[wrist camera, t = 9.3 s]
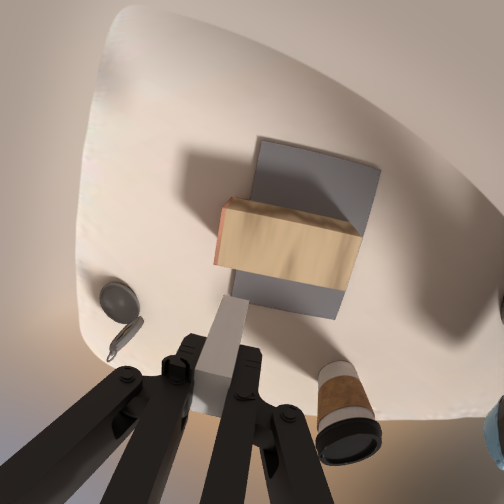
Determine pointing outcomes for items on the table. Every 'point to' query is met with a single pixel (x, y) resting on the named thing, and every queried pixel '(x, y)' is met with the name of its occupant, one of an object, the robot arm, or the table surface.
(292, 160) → the rubber mat
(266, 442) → the robot arm
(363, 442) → the coffee cup
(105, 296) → the pocket watch
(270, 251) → the oak block
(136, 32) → the table surface
